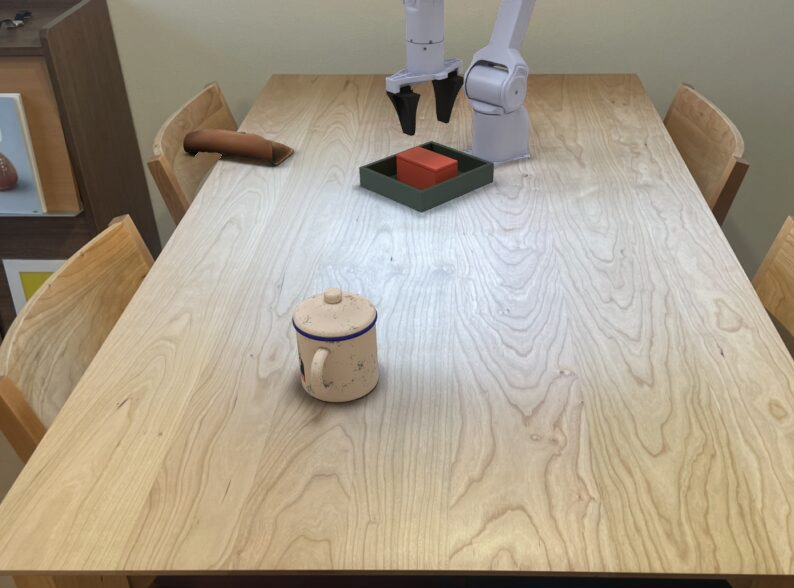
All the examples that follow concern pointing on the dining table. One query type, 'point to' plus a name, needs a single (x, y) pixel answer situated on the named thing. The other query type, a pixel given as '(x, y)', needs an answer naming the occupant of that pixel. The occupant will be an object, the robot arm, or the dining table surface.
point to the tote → (469, 178)
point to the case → (424, 168)
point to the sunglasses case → (236, 145)
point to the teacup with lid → (337, 345)
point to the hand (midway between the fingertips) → (426, 127)
